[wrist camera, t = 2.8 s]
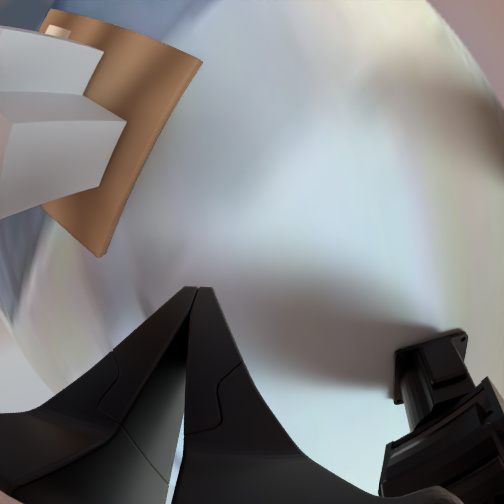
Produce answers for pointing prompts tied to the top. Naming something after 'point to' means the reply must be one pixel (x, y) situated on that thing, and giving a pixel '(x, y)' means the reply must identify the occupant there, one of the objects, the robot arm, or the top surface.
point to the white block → (49, 120)
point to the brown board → (124, 106)
